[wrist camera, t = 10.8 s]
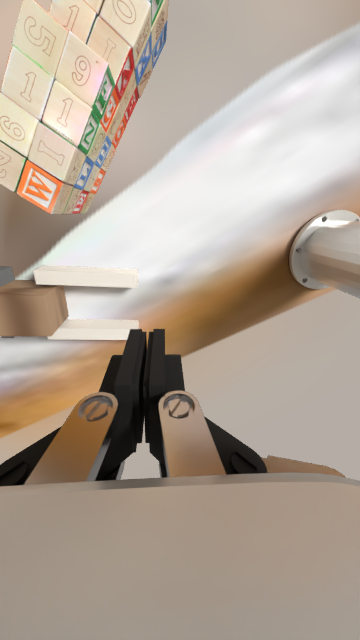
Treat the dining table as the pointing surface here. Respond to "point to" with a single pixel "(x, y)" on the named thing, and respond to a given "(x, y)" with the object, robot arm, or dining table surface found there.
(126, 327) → the chute rail
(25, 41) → the stack of blocks
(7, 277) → the bar
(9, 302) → the walnut block
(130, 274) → the chute rail
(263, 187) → the dining table surface
